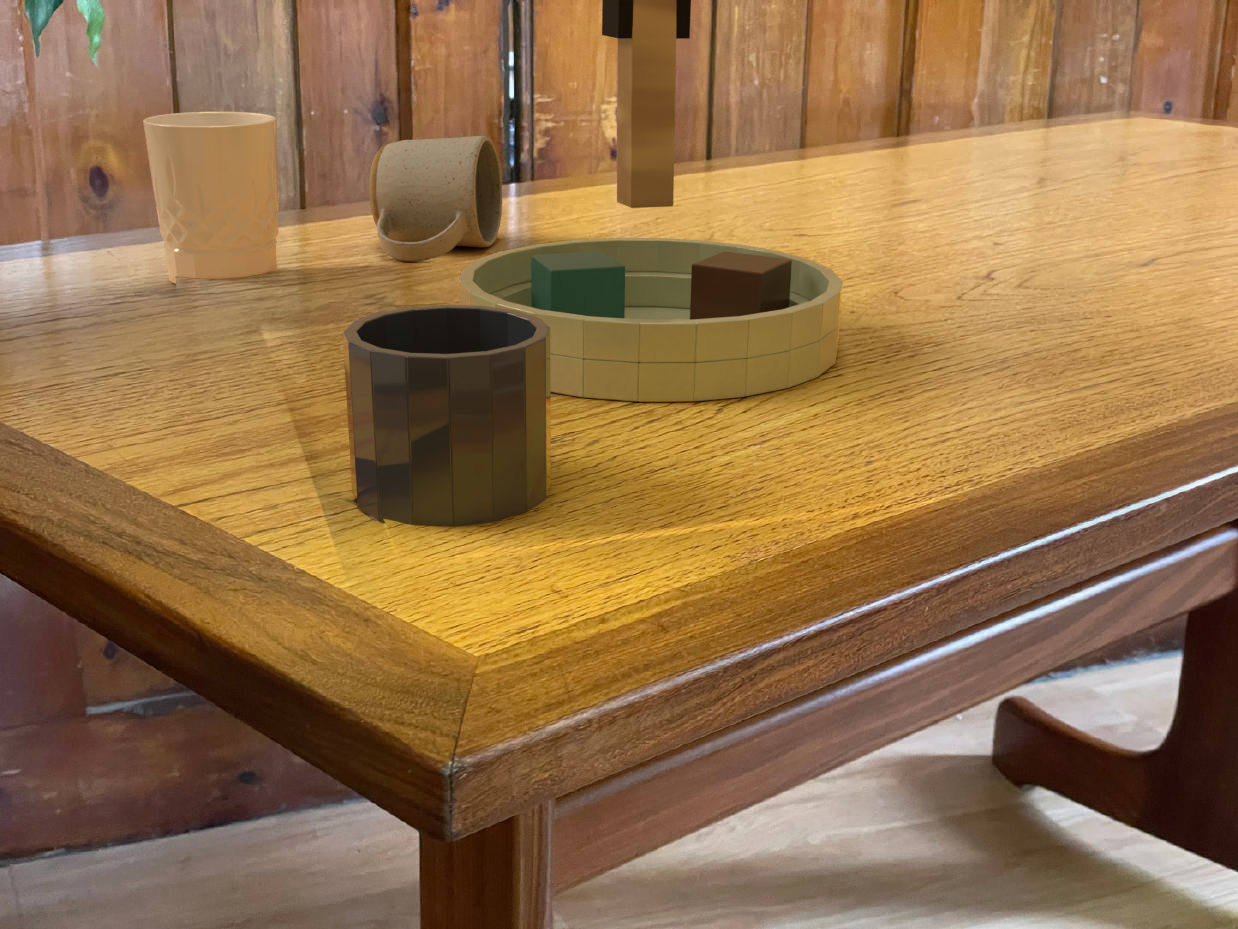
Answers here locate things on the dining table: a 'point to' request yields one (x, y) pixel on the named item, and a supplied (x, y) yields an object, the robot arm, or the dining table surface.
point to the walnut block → (739, 285)
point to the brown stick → (647, 106)
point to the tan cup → (215, 192)
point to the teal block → (578, 284)
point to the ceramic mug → (435, 196)
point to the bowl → (670, 324)
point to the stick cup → (448, 414)
